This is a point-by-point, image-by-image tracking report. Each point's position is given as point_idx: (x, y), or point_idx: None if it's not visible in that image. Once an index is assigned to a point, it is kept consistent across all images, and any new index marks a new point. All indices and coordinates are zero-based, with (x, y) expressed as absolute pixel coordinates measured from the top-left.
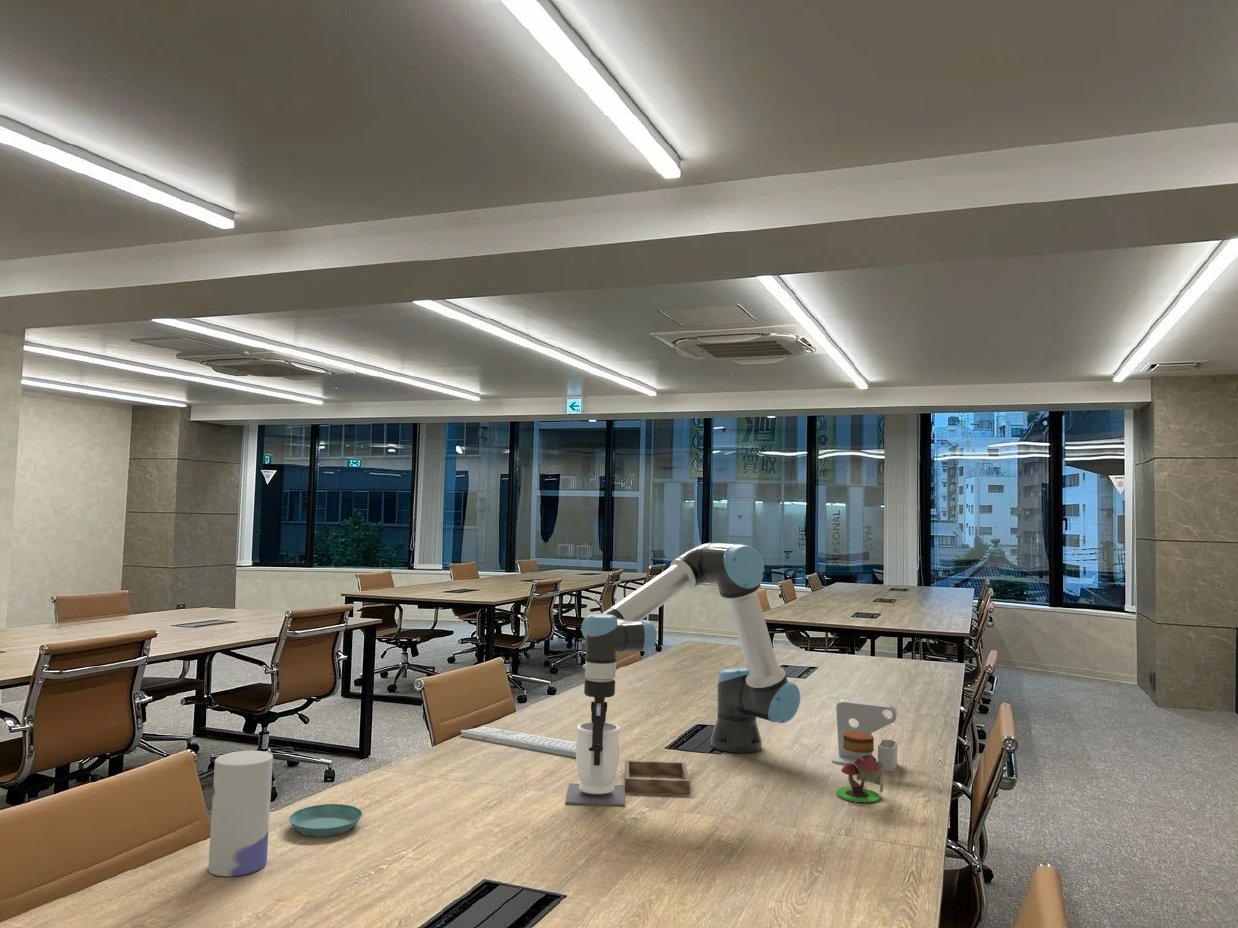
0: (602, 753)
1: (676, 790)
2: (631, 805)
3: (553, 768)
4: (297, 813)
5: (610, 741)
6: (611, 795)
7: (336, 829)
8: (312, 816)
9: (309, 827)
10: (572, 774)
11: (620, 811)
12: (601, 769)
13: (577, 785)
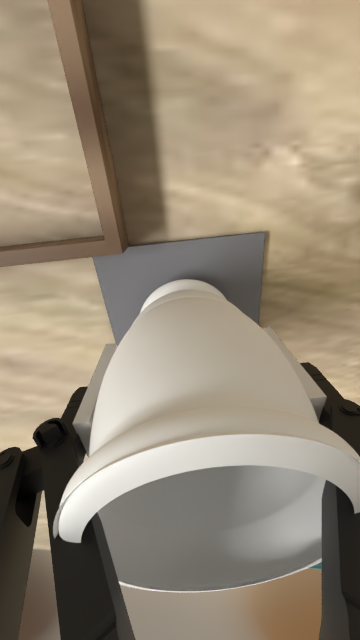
0: (317, 387)
1: (79, 2)
2: (253, 211)
3: (23, 422)
4: (321, 565)
5: (306, 404)
6: (194, 279)
7: None
8: None
9: None
10: (45, 385)
11: (303, 240)
12: (283, 346)
13: None
